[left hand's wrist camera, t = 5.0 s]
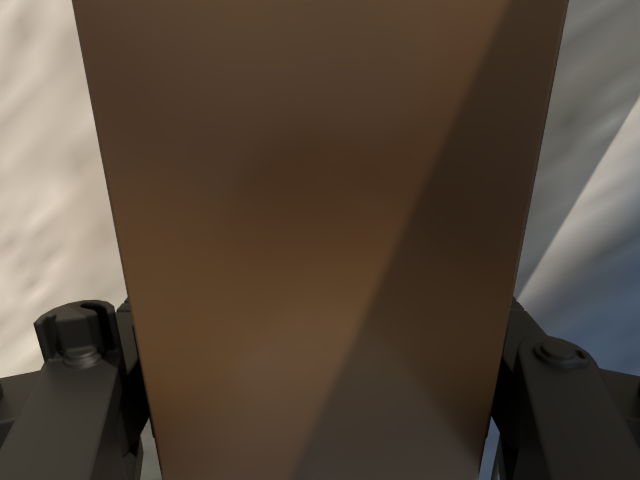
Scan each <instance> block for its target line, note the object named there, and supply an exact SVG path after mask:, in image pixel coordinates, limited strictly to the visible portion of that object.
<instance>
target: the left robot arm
mask: <svg viewBox="0 0 640 480" xmlns="http://www.w3.org/2000/svg"><path fill="white" fill-rule="evenodd" d="M33 324H34V327H35V331H36V334H37V338H38V341H39V345H40V348H41V351H42V355H43V358H44V364H43V366H42V368H41V370H39V371H35V372H31V373H25V374H20V375H15V376H10V377H5V378H0V480H140V477H141V469H142V461H143V446H142V441H141V436H140V434H141V432H142V430H143V428H144V426H145V424H146V422H147V420H148V418H149V419H150V424H151V429H152V434H153V438H154V433H153V428H152V422H151V417H150V412H149V406H148V401H147V396H146V391H145V385H144V380H143V375H142V369H141V364H140V359H139V353H138V348H137V343H136V338H135V332H134V327H133V322H132V316H131V311H130V306H129V301H128V298H127V299H126V300H125V301H124V303H122V304H121V306H120V307H119V308H118V309H117V312H115V309H114V306H113V305H111V304H110V303H109V302H106V301H100V300H83V301H78V302H73V303H68V304H65V305H62V306H60V307H57V308H54V309H52V310H50V311H49V312H47V313H45V314H43V315H42V316H40V317H39V318H38V319H37V320H36V321H35V322H34V323H33ZM491 416H492V418H493V420H494V422H495V424H496V426H497V428H498V430H499V432H500V436H499V441H498V446H497V451H496V456H495V461H494V465H493V470H492V477H491V480H497V478H498V474H499V476H500V480H640V376H635V375H630V374H625V373H620V372H614V371H609V370H605V369H601V368H599V367H598V365H597V363H596V361H595V360H594V359H593V358H592V357H591V355H590V354H589V353H588V352H586V351H585V350H583V349H582V348H580V347H579V346H577V345H575V344H573V343H570V342H568V341H566V340H563V339H559V338H555V337H551V336H547V334H546V333H545V332H544V331H543V330H542V329H541V328H540V326H539V325H538V324H537V323H536V322H535V321H534V320H533V318H532V317H531V316H530V315H529V314H528V313H527V312H526V311H524V308H523V307H522V306H521V305H520V303H519V302H516V299H515V298H514V297H512V303H511V308H510V313H509V319H508V324H507V329H506V334H505V340H504V345H503V350H502V356H501V361H500V366H499V371H498V377H497V382H496V387H495V393H494V398H493V403H492V408H491V414H490V419H489V424H488V429H487V435H486V438H487V436H488V430H489V425H490V420H491Z"/></svg>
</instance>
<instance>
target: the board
mask: <svg viewBox="0 0 640 480" xmlns="http://www.w3.org/2000/svg"><path fill="white" fill-rule="evenodd" d="M568 2H569V0H72V4H73V9H74V15H75V20H76V25H77V31H78V36H79V41H80V46H81V52H82V57H83V62H84V68H85V73H86V78H87V84H88V89H89V94H90V99H91V105H92V110H93V115H94V121H95V126H96V131H97V136H98V142H99V147H100V152H101V158H102V163H103V168H104V174H105V179H106V184H107V189H108V195H109V200H110V205H111V211H112V216H113V221H114V226H115V232H116V237H117V242H118V248H119V253H120V258H121V263H122V269H123V274H124V279H125V285H126V290H127V295H128V301H129V306H130V311H131V316H132V322H133V327H134V332H135V338H136V343H137V348H138V353H139V359H140V364H141V369H142V375H143V380H144V385H145V391H146V396H147V401H148V406H149V412H150V417H151V422H152V428H153V433H154V438H155V443H156V449H157V454H158V459H159V465H160V470H161V475H162V480H478V477H479V472H480V466H481V461H482V456H483V451H484V445H485V440H486V435H487V429H488V424H489V419H490V414H491V408H492V403H493V398H494V393H495V387H496V382H497V377H498V371H499V366H500V361H501V356H502V350H503V345H504V340H505V334H506V329H507V324H508V319H509V313H510V308H511V303H512V297H513V292H514V287H515V282H516V276H517V271H518V266H519V260H520V255H521V250H522V245H523V239H524V234H525V229H526V224H527V218H528V213H529V208H530V202H531V197H532V192H533V187H534V181H535V176H536V171H537V165H538V160H539V155H540V150H541V144H542V139H543V134H544V128H545V123H546V118H547V113H548V107H549V102H550V97H551V91H552V86H553V81H554V76H555V70H556V65H557V60H558V55H559V49H560V44H561V39H562V33H563V28H564V23H565V18H566V12H567V7H568Z"/></svg>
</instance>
